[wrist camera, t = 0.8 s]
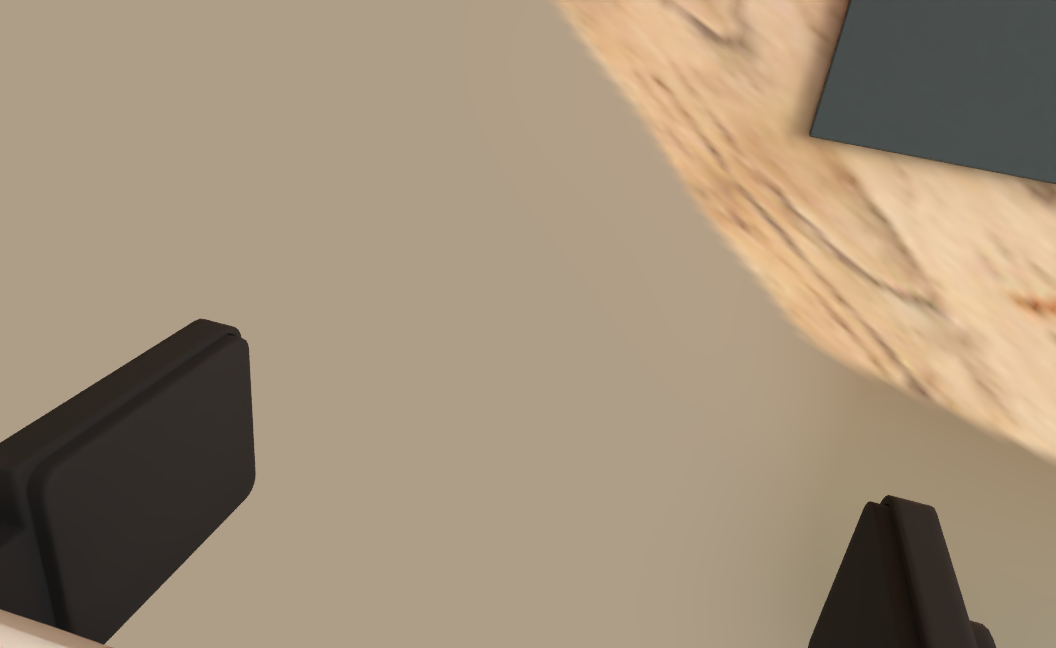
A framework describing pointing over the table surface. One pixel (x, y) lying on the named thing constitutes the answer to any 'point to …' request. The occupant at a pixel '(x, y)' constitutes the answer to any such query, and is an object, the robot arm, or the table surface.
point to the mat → (947, 83)
